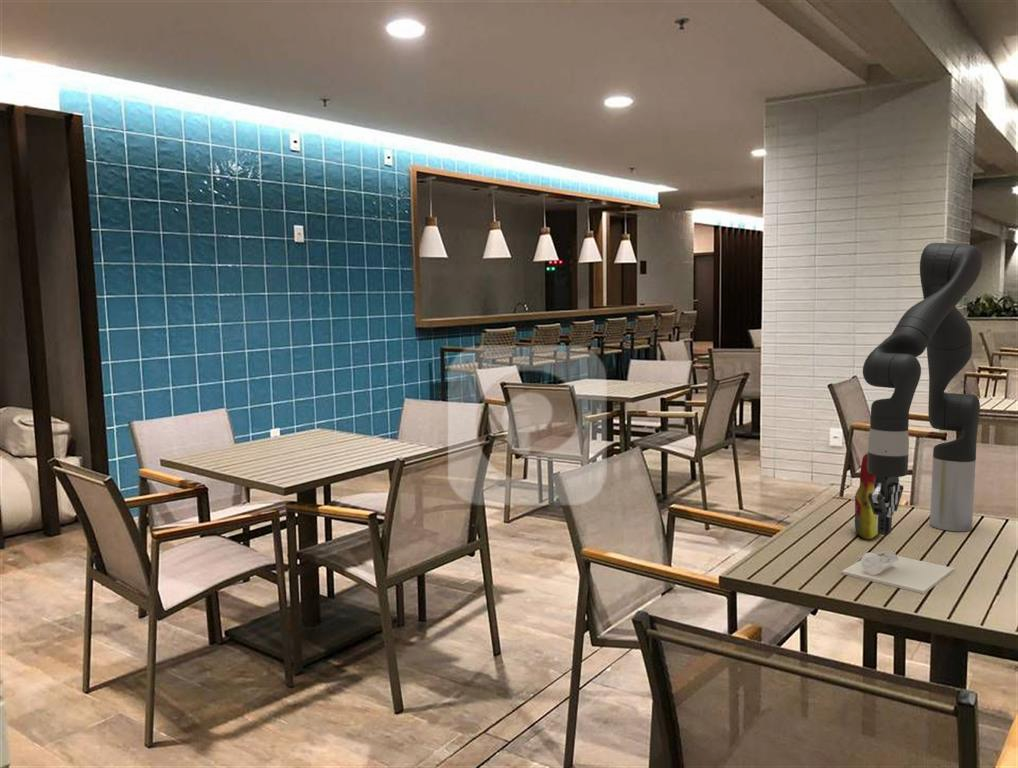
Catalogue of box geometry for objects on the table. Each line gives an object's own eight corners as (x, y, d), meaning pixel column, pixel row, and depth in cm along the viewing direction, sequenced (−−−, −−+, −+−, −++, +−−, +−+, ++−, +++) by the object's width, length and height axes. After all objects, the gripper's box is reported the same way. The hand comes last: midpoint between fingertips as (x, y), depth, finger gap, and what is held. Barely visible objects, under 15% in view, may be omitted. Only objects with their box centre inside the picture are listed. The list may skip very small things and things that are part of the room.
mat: (875, 553, 178) (875, 551, 178) (954, 570, 167) (954, 568, 167) (841, 573, 166) (841, 571, 166) (923, 593, 154) (924, 590, 154)
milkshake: (909, 563, 166) (886, 570, 159) (886, 572, 169) (863, 579, 163) (897, 542, 167) (874, 549, 161) (875, 552, 171) (852, 558, 165)
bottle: (879, 543, 186) (882, 458, 183) (849, 539, 189) (852, 456, 187) (884, 530, 196) (887, 450, 194) (856, 526, 199) (859, 447, 197)
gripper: (894, 458, 156) (891, 544, 157) (919, 448, 165) (915, 530, 167) (856, 453, 161) (852, 536, 163) (881, 444, 170) (878, 523, 172)
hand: (884, 533), depth 165 cm, fingers closed
